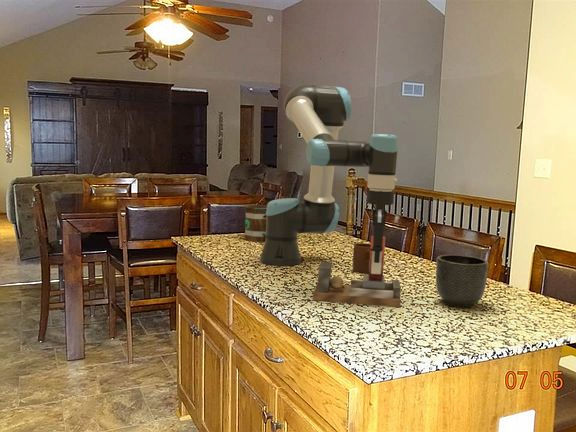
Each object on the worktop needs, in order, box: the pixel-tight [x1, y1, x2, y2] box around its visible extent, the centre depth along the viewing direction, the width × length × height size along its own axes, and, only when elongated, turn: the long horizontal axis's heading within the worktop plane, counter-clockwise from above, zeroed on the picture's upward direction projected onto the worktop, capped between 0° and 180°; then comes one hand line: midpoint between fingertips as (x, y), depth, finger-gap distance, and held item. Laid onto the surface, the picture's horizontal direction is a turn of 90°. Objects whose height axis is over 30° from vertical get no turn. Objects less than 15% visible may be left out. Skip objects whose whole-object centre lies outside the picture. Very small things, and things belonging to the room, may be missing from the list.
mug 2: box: [352, 242, 371, 275], centre depth 187 cm, size 12×8×9 cm, turn 13°
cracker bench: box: [312, 261, 402, 308], centre depth 155 cm, size 24×12×9 cm, turn 81°
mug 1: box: [244, 204, 267, 243], centre depth 242 cm, size 20×14×15 cm
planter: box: [435, 254, 489, 309], centre depth 152 cm, size 14×14×13 cm
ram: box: [362, 235, 386, 290], centre depth 153 cm, size 6×8×16 cm
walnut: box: [330, 275, 345, 289], centre depth 156 cm, size 4×4×4 cm
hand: (375, 271), depth 153 cm, fingers closed on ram, 4 cm apart
